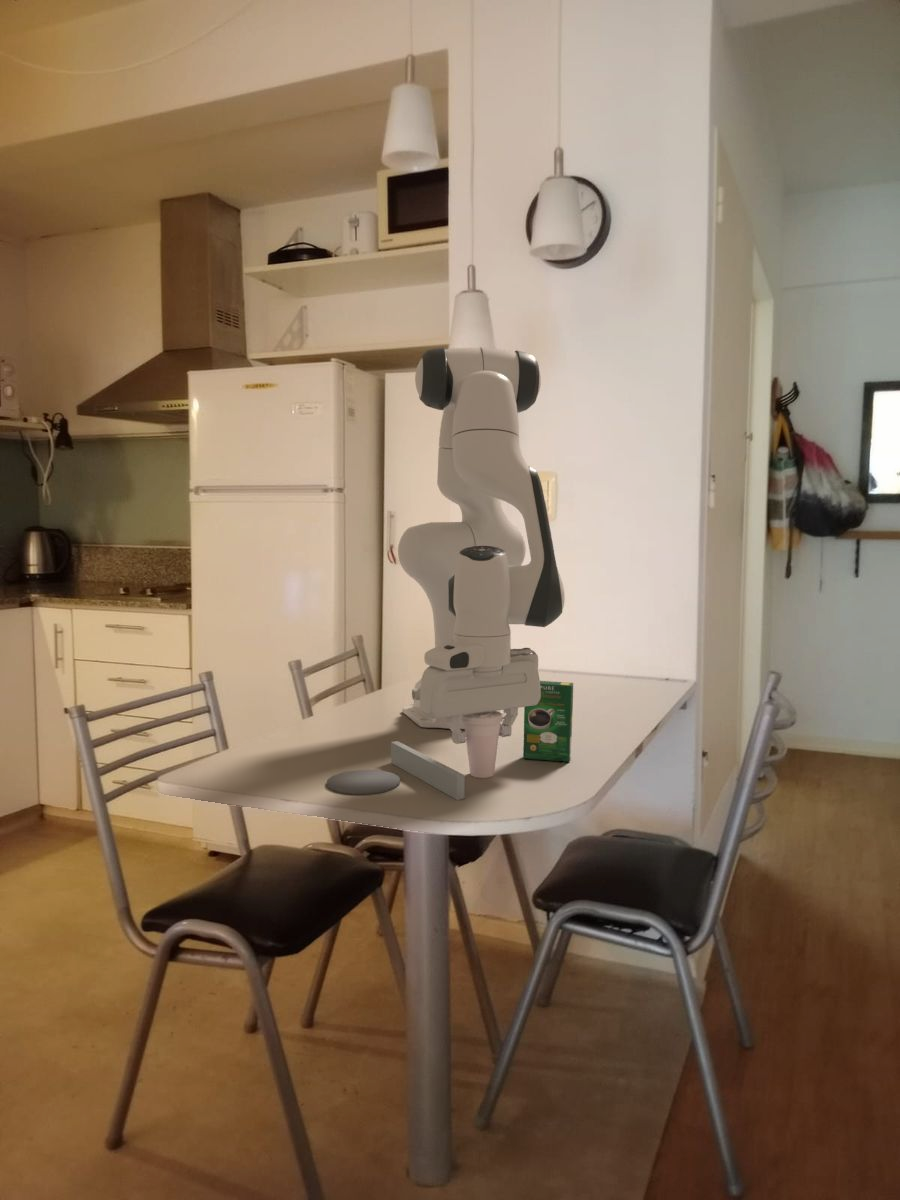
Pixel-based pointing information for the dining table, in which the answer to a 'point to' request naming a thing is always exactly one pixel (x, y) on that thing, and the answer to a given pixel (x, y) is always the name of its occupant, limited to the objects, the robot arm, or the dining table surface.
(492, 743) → the smoothie
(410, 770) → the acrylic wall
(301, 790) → the dining table surface
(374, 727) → the dining table surface
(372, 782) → the pad
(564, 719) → the coffee box
